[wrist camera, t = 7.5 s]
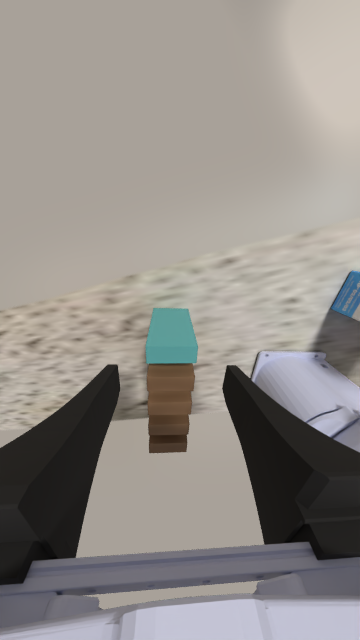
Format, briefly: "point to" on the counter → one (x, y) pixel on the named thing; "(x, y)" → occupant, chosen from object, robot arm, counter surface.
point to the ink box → (349, 297)
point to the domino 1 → (171, 337)
